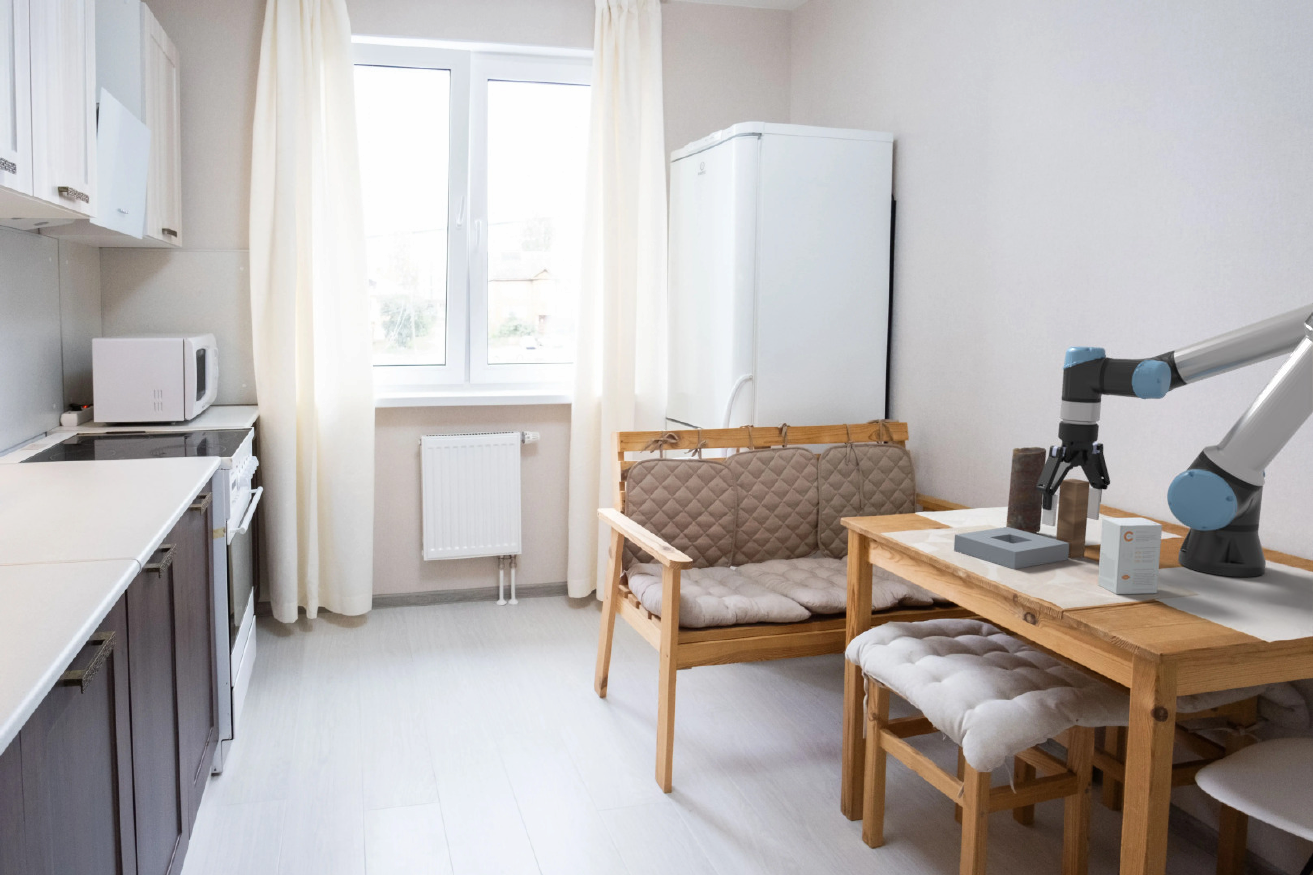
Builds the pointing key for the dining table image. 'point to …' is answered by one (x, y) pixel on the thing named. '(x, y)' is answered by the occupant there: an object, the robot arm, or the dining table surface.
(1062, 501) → the peg
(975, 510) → the dining table surface
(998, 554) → the socket
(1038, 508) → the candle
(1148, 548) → the small box
